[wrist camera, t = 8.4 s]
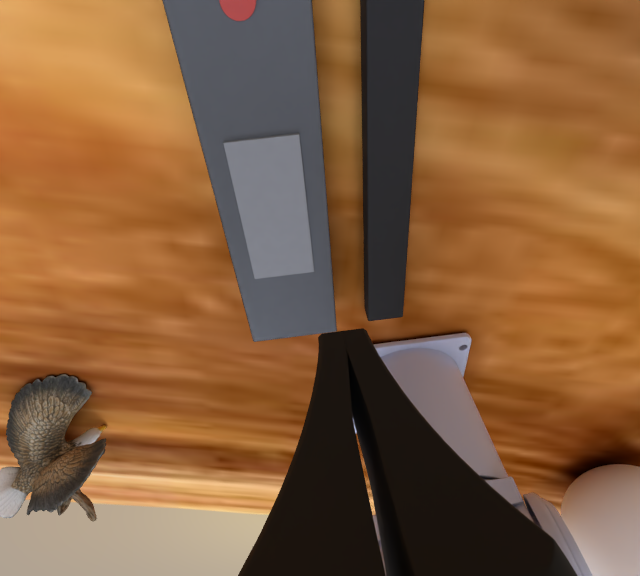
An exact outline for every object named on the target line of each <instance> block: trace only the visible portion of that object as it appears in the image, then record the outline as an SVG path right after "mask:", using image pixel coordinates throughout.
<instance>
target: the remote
mask: <svg viewBox="0 0 640 576" xmlns="http://www.w3.org/2000/svg"><path fill="white" fill-rule="evenodd" d="M162 1H163V4H164V8H165V12H166V16H167V19H168V23H169V27H170V31H171V34H172V38H173V42H174V45H175V49H176V53H177V57H178V60H179V64H180V68H181V72H182V75H183V79H184V83H185V87H186V90H187V94H188V98H189V102H190V105H191V109H192V113H193V117H194V120H195V124H196V128H197V132H198V135H199V139H200V143H201V147H202V150H203V154H204V158H205V162H206V165H207V169H208V173H209V177H210V180H211V184H212V188H213V192H214V195H215V199H216V203H217V207H218V210H219V214H220V218H221V222H222V225H223V229H224V233H225V237H226V240H227V244H228V248H229V252H230V255H231V259H232V263H233V266H234V270H235V274H236V278H237V281H238V285H239V289H240V293H241V296H242V300H243V304H244V308H245V311H246V315H247V319H248V323H249V326H250V330H251V334H252V338H253V341H254V342H256V341H264V340H272V339H280V338H288V337H296V336H304V335H312V334H319V333H327V332H335V331H337V327H336V314H335V301H334V288H333V274H332V261H331V248H330V235H329V222H328V208H327V195H326V182H325V169H324V155H323V142H322V129H321V116H320V102H319V89H318V76H317V63H316V50H315V36H314V23H313V10H312V0H162Z"/></svg>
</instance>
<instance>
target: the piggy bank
mask: <svg viewBox="0 0 640 576" xmlns="http://www.w3.org/2000/svg"><path fill="white" fill-rule="evenodd" d="M561 517H562V519H563V521H564V522H565V524H566V526H567V527H568V529H569V531H570V533H571V535H572V536H573V538H574V540H575V542H576V544H577V546H578V548H579V550H580V552H581V553H582V555H583V557H584V559H585V561H586V563H587V565H588V567H589V569H590V571H591V574H592V576H640V467H638V466H633V465H626V464H612V465H604V466H600V467H596V468H593V469H591V470H589V471H587V472H585V473H583V474H582V475H580V476H579V477H578V478H576V479H575V480H574V481H573V482H572V483H571V485H570V486H569V487H568V489H567V491H566V492H565V494H564V497H563V500H562V505H561Z"/></svg>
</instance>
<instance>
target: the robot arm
mask: <svg viewBox="0 0 640 576" xmlns="http://www.w3.org/2000/svg"><path fill="white" fill-rule="evenodd" d="M318 339H319V354H318V364H317V371H316V377H315V382H314V387H313V392H312V397H311V401H310V405H309V408H308V412H307V416H306V420H305V423H304V427H303V430H302V433H301V436H300V439H299V442H298V445H297V448H296V451H295V454H294V457H293V460H292V462H291V465H290V467H289V470H288V472H287V475H286V477H285V480H284V483H283V485H282V487H281V490H280V492H279V494H278V497H277V499H276V501H275V503H274V505H273V507H272V510H271V512H270V514H269V516H268V518H267V520H266V523H265V525H264V527H263V529H262V531H261V533H260V535H259V537H258V539H257V541H256V543H255V545H254V547H253V549H252V550H251V552H250V554H249V556H248V558H247V560H246V562H245V563H244V565H243V568H242V569H241V571H240V573H239V575H238V576H592V574H591V571H590V569H589V567H588V565H587V563H586V561H585V559H584V557H583V555H582V553H581V552H580V550H579V548H578V546H577V544H576V542H575V540H574V538H573V536H572V535H571V533H570V531H569V529H568V527H567V526H566V524H565V522H564V521H563V519H562V517H561V516H560V514H559V512H558V511H557V510H556V508H555V507H554V505H553V504H552V503H550V502H548V501H547V500H545V499H543V498H540V497H539V496H538V495H537V494H536V493H528V494H525V495H523V496H524V501H525V504H526V506H525V504H524V501H523V499H522V497H521V495H520V493H519V491H518V488H517V486H516V484H515V482H514V480H513V478H512V477H508V475H507V473H506V471H505V469H504V467H503V464H502V462H501V460H500V458H499V456H498V453H497V451H496V449H495V447H494V445H493V442H492V440H491V438H490V436H489V434H488V431H487V429H486V427H485V425H484V423H483V420H482V418H481V416H480V414H479V412H478V410H477V407H476V405H475V403H474V401H473V399H472V396H471V394H470V392H469V390H468V388H467V385H466V383H465V381H464V379H463V376H464V372H465V368H466V363H467V359H468V354H469V350H470V346H471V341H472V340H471V337H470V335H469V334H467V333H459V334H451V335H443V336H435V337H427V338H419V339H411V340H403V341H396V342H388V343H380V344H373V343H372V341H371V339H370V337H369V335H368V333H367V331H366V330H364V329H356V330H348V331H340V332H332V333H324V334H321V335H320V336H319V337H318ZM355 433H357V435H358V439H359V443H360V446H361V450H362V454H363V458H364V461H365V465H366V469H367V473H368V477H369V481H370V485H371V490H372V494H373V500H374V506H375V511H376V515H373V516H372V511H371V507H370V502H369V497H368V493H367V488H366V483H365V478H364V473H363V469H362V464H361V459H360V454H359V449H358V444H357V439H356V434H355ZM526 507H527V508H526Z"/></svg>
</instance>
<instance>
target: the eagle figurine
mask: <svg viewBox="0 0 640 576" xmlns="http://www.w3.org/2000/svg"><path fill="white" fill-rule="evenodd" d="M91 393H92V392H91V390H88V389H86V384H85V383H82V382H78V379H77V378H76V377H75V376H70V377H69V376H67V375H66V374H61V375H59V376H58V377H54V376H48V377H46V378H45V379H44V380H43V382H41V381H40V380H39V379H36V380H35V381H34V382H33V384H31V383H28V384H26V385H25V386H24V387H23V388H21V390H20V392H18V393H17V394H16V395H15V399H14V400H12V403H11V405H12V406H11V409H10V412H9V419H8V424H7V430H6V435H7V440H8V442H9V443H8V445H9V446H10V448H11V451H12V452H13V453H14V456H15V458H17V459H18V464H19V465H20V467H21V468H20V467H5V468H2V469H1V470H0V516H1V517H3V518H11V517H13V516H14V515H15V514H16V513H17V512H18V511H19V509H20V508H21V506H22V504H23V502H24V501H25V498H26V496H27V495H28V494H29V493H30V492H32V495H31V500H30V503H29V506H28V509H27V515H29V514H30V512H31V511H32V510H34V511H35V512H37V511H38V510H42V511H45V510H47V511H49V512H53V510H56V509H57V511H58V515H61V514H62V513H63V512H64V511H65V510H66V509H67V508H68V506H69V504H70V501H71V499H72V498H73V499H74V500H75V501H76V502H77V503H78V504H79V505H80V506H81V507H82V508H83V509H84V510H85V511H86V513H87V516H88V518H89V519H90V520H91V521H95V520H96V514H95V510H94V506H93V504H92V502H91V501H90V499H89V498H88V497H87V496H86V495H84V494H83V493H82V492H81V490H80V488H81V487H82V485H83V483H84V482H85V481H86V479H87V478H88V477H89V476H90V474H91V472H92V470H93V469H94V468H95V466H96V464H97V462H98V460H99V459H100V458H101V456H102V455H103V454H104V452H105V446H106V443H105V442H106V438H105V439H102V440H100V441H97V442H95V441H96V440H97V438H98V437H99V436H100V434H101V432H102V431H103V430H104V429H106V428H107V426H106V425H103V426H101V427H98V428H91V429H89V430H87V431H86V432H85V433H83V434H82V435H80V436H79V437H78V438H76V439H74V440H71V441H68V442H67V441H66V440H65V438H64V437H65V433H66V431H67V428H68V426H69V425H70V422H71V420H72V418H73V417H74V415H75V414H76V413H77V412H78V411H79V410H80V409H81V408H82V406H83V405H84V403H85V402H86V401H87V400H88V399H89V397H90V395H91Z"/></svg>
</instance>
